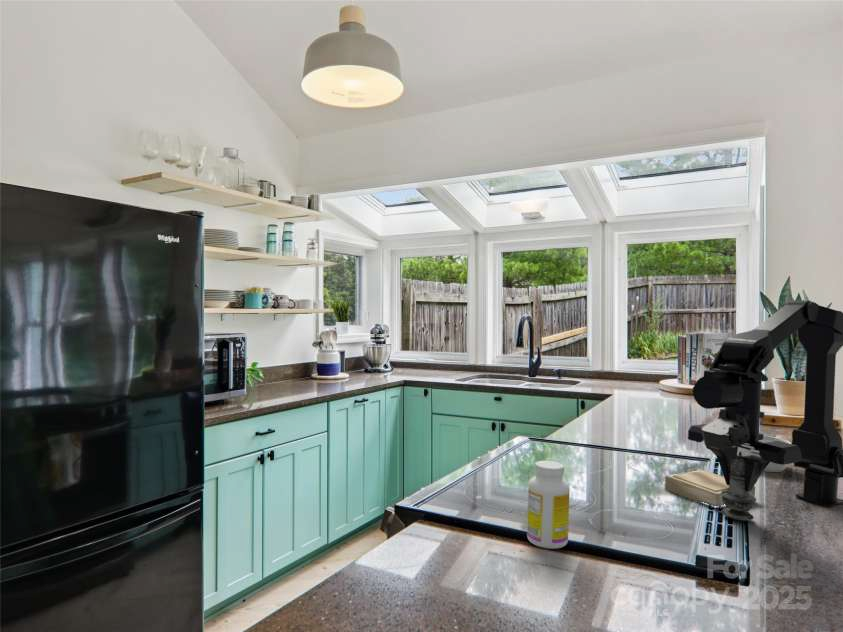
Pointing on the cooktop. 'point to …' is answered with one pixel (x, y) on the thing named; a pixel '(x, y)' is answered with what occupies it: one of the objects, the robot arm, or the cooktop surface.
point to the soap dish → (699, 486)
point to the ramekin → (771, 466)
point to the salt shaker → (737, 492)
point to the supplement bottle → (548, 506)
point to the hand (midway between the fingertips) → (738, 488)
